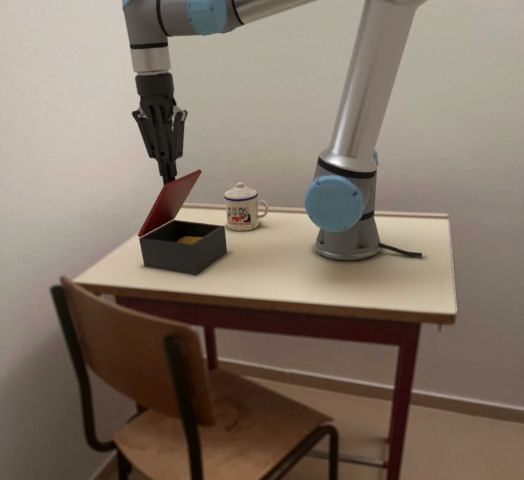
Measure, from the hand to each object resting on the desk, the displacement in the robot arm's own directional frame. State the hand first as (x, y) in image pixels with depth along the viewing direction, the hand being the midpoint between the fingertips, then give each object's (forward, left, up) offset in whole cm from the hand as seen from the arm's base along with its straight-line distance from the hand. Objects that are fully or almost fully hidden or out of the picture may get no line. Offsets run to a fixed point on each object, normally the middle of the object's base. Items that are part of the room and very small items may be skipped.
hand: (171, 191), depth 116 cm
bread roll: (-4, 0, -15) cm, 15 cm away
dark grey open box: (-2, 0, -16) cm, 16 cm away
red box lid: (+1, 0, -3) cm, 3 cm away
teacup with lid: (-5, -26, -17) cm, 31 cm away
